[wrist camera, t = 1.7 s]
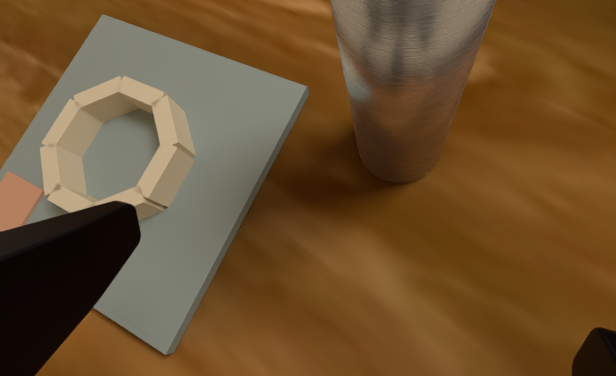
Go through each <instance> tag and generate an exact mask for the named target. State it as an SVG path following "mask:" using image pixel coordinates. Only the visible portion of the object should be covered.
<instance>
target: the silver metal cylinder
mask: <svg viewBox="0 0 616 376" xmlns="http://www.w3.org/2000/svg"><path fill="white" fill-rule="evenodd" d="M495 2H496V0H330V4H331V9H332V14H333V19H334V25H335V30H336V35H337V40H338V46H339V51H340V56H341V61H342V67H343V72H344V77H345V82H346V88H347V93H348V98H349V103H350V109H351V114H352V119H353V124H354V130H355V135H356V140H357V145H358V151H359V155H360V158H361V161H362V163H363V164H364V166H365V167H366V169H367V170H368V171H369V172H370V173H371V174H372V175H374V176H375V177H377V178H379V179H381V180H383V181H386V182H390V183H397V184H402V183H410V182H413V181H416V180H418V179H421V178H422V177H424V176H425V175H427V174H428V173H429V172H430V171H431V170H432V169H433V168H434V167H435V165H436V164H437V162H438V160H439V158H440V155H441V152H442V149H443V147H444V144H445V141H446V138H447V136H448V133H449V130H450V127H451V124H452V122H453V119H454V116H455V113H456V110H457V108H458V105H459V102H460V99H461V96H462V94H463V91H464V88H465V85H466V83H467V80H468V77H469V74H470V71H471V69H472V66H473V63H474V60H475V57H476V55H477V52H478V49H479V46H480V44H481V41H482V38H483V35H484V32H485V30H486V27H487V24H488V21H489V18H490V16H491V13H492V10H493V7H494V5H495Z"/></svg>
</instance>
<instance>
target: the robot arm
mask: <svg viewBox="0 0 616 376" xmlns="http://www.w3.org/2000/svg"><path fill="white" fill-rule="evenodd" d="M140 239H141V231H140V226H139V221H138V216H137V211H136V208H135V207H134V206H133V205H132V204H129V203H126V202H122V201H111V202H107V203H104V204H100V205H96V206H93V207H89V208H85V209H82V210H78V211H74V212H71V213H67V214H63V215H60V216H56V217H53V218H49V219H45V220H42V221H38V222H34V223H31V224H27V225H23V226H20V227H16V228H12V229H9V230H5V231H1V232H0V376H35V375H36V374H37V372H38V371H39V370H40V369H41V368H42V367H43V365H44V364H45V363H46V362H47V361H48V360H49V358H50V357H51V356H52V355H53V354H54V353H55V351H56V350H57V349H58V348H59V347H60V345H61V344H62V343H63V342H64V341H65V340H66V338H67V337H68V336H69V335H70V334H71V333H72V331H73V330H74V329H75V328H76V327H77V326H78V324H79V323H80V322H81V321H82V320H83V319H84V317H85V316H86V315H87V314H88V313H89V312H90V310H91V309H92V308H93V307H94V306H95V304H96V303H97V302H98V301H99V299H100V298H101V297H102V295H103V294H104V293H105V291H106V290H107V288H108V287H109V286H110V284H111V283H112V281H113V280H114V279H115V277H116V276H117V274H118V273H119V271H120V270H121V269H122V267H123V266H124V264H125V263H126V262H127V260H128V259H129V257H130V256H131V254H132V253H133V252H134V250H135V249H136V247H137V246H138V244H139V242H140ZM572 376H616V331H613V330H609V329H605V328H602V327H597V328H594V329H593V330H592V331H591V332H590V333H589V335H588V336H587V338H586V340H585V341H584V343H583V344H582V346H581V348H580V349H579V351H578V352H577V354H576V356H575V358H574V360H573V364H572Z"/></svg>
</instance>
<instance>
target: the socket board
mask: <svg viewBox="0 0 616 376" xmlns="http://www.w3.org/2000/svg"><path fill="white" fill-rule="evenodd" d="M309 94H310V93H309V91H308V88H307V86H304V85H301V84H298V83H295V82H292V81H290V80H287V79H284V78H281V77H278V76H276V75H273V74H270V73H267V72H264V71H261V70H259V69H256V68H253V67H250V66H247V65H244V64H242V63H239V62H236V61H233V60H230V59H227V58H225V57H222V56H219V55H216V54H213V53H211V52H208V51H205V50H202V49H199V48H196V47H194V46H191V45H188V44H185V43H182V42H179V41H177V40H174V39H171V38H168V37H165V36H162V35H160V34H157V33H154V32H151V31H148V30H146V29H143V28H140V27H137V26H134V25H131V24H129V23H126V22H123V21H120V20H117V19H114V18H112V17H109V16H106V15H103V14H102V16H101V18H100V19H99V21H98V22H97V24H96V25H95V27H94V28H93V30H92V31H91V33H90V34H89V36H88V37H87V39H86V40H85V42H84V43H83V45H82V47H81V48H80V50H79V51H78V53H77V54H76V56H75V57H74V59H73V60H72V62H71V63H70V65H69V66H68V68H67V69H66V71H65V72H64V74H63V75H62V77H61V79H60V80H59V82H58V83H57V85H56V86H55V88H54V89H53V91H52V92H51V94H50V95H49V97H48V98H47V100H46V101H45V103H44V104H43V106H42V108H41V109H40V111H39V112H38V114H37V115H36V117H35V118H34V120H33V121H32V123H31V124H30V126H29V127H28V129H27V130H26V132H25V133H24V135H23V136H22V138H21V140H20V141H19V143H18V144H17V146H16V147H15V149H14V150H13V152H12V153H11V155H10V156H9V158H8V159H7V161H6V162H5V164H4V165H3V167H2V169H1V170H0V232H1V231H5V230H9V229H12V228H16V227H20V226H23V225H27V224H31V223H34V222H38V221H42V220H45V219H49V218H53V217H56V216H60V215H63V214H67V213H71V212H74V211H78V210H82V209H85V208H89V207H93V206H96V205H100V204H104V203H107V202H111V201H122V202H126V203H129V204H132V205H133V206H134V207H135V208H136V211H137V216H138V221H139V226H140V231H141V239H140V242H139V244H138V246H137V247H136V249H135V250H134V252H133V253H132V254H131V256H130V257H129V259H128V260H127V262H126V263H125V264H124V266H123V267H122V269H121V270H120V271H119V273H118V274H117V276H116V277H115V279H114V280H113V281H112V283H111V284H110V286H109V287H108V288H107V290H106V291H105V293H104V294H103V295H102V297H101V298H100V299H99V301H98V302H97V303H96V304H95V306H94V307H93V308H95V309H96V310H98V311H99V312H101V313H102V314H104V315H105V316H107V317H108V318H110V319H111V320H113V321H115V322H116V323H118V324H119V325H121V326H122V327H124V328H125V329H127V330H128V331H130V332H131V333H133V334H134V335H136V336H137V337H139V338H140V339H142V340H143V341H145V342H147V343H148V344H150V345H151V346H153V347H154V348H156V349H157V350H159V351H160V352H162V353H163V354H165V355H167V354H172V353H174V351H175V350H176V348H177V346H178V344H179V342H180V340H181V338H182V336H183V334H184V332H185V330H186V329H187V327H188V325H189V323H190V321H191V319H192V317H193V315H194V313H195V311H196V309H197V308H198V306H199V304H200V302H201V300H202V298H203V296H204V294H205V292H206V290H207V289H208V287H209V285H210V283H211V281H212V279H213V277H214V275H215V273H216V271H217V269H218V268H219V266H220V264H221V262H222V260H223V258H224V256H225V254H226V252H227V250H228V248H229V247H230V245H231V243H232V241H233V239H234V237H235V235H236V233H237V231H238V229H239V227H240V226H241V224H242V222H243V220H244V218H245V216H246V214H247V212H248V210H249V208H250V207H251V205H252V203H253V201H254V199H255V197H256V195H257V193H258V191H259V189H260V187H261V186H262V184H263V182H264V180H265V178H266V176H267V174H268V172H269V170H270V168H271V166H272V165H273V163H274V161H275V159H276V157H277V155H278V153H279V151H280V149H281V147H282V146H283V144H284V142H285V140H286V138H287V136H288V134H289V132H290V130H291V128H292V126H293V125H294V123H295V121H296V119H297V117H298V115H299V113H300V111H301V109H302V107H303V105H304V104H305V102H306V100H307V98H308V96H309Z"/></svg>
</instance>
